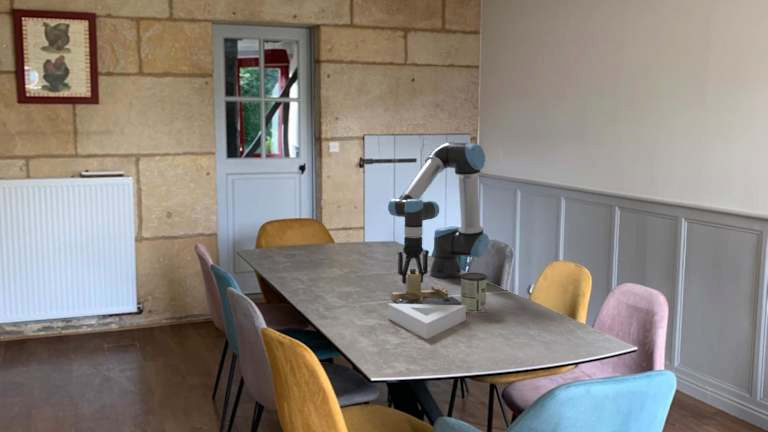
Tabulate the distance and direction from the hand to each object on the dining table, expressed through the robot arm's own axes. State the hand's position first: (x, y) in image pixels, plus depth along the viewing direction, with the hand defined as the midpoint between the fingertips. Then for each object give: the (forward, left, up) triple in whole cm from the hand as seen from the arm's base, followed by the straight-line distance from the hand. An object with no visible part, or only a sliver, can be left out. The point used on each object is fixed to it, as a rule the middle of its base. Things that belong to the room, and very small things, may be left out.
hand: (412, 290), depth 331 cm
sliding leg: (0, +4, -2) cm, 5 cm away
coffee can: (-18, +22, -4) cm, 29 cm away
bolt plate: (-3, +11, -4) cm, 12 cm away
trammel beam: (-3, +4, -4) cm, 6 cm away
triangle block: (+11, +35, -5) cm, 37 cm away
